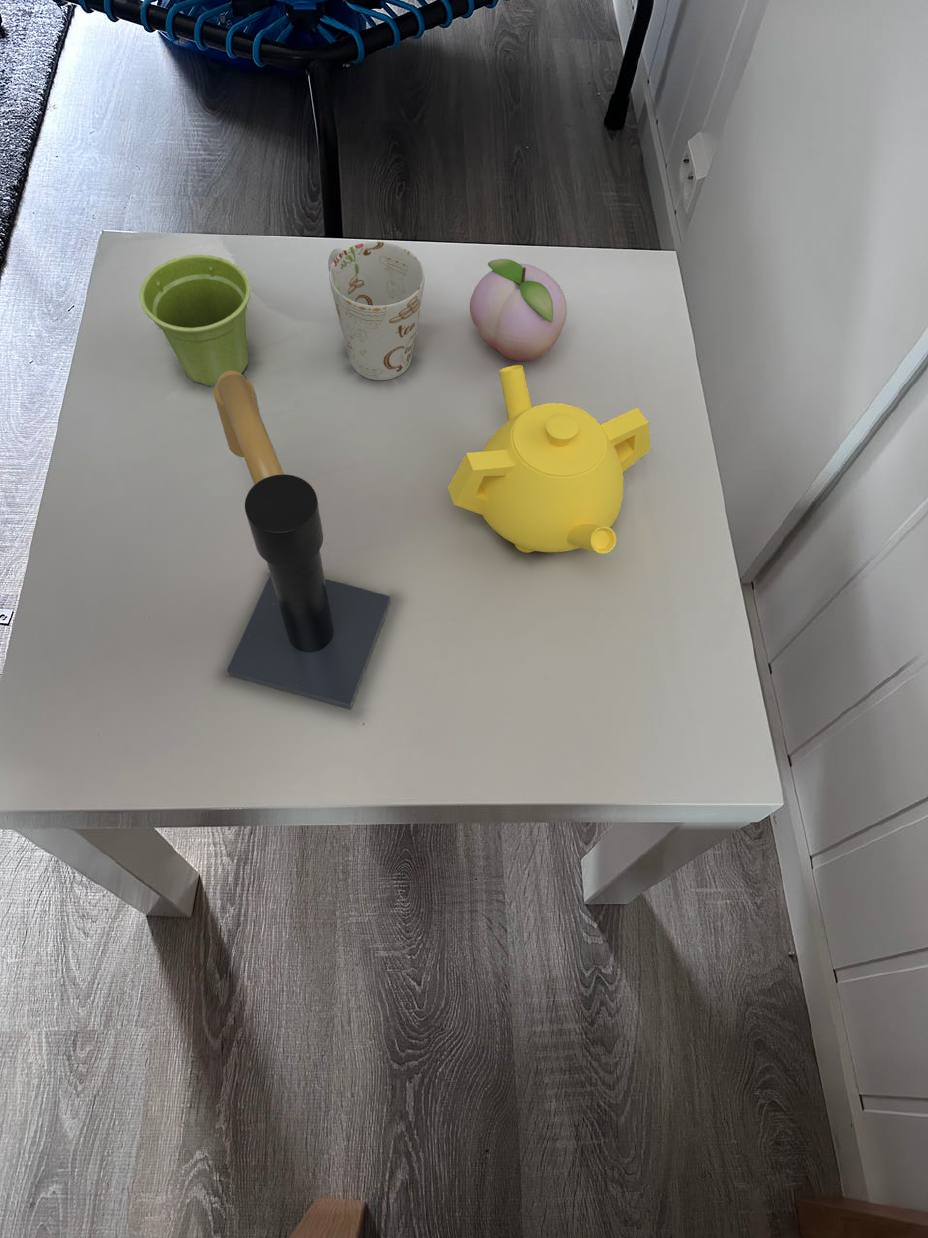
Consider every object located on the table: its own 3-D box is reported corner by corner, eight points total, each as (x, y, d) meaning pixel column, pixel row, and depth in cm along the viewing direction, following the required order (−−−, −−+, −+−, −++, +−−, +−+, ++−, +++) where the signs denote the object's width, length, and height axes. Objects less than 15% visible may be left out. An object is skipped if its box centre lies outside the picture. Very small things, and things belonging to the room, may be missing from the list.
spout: (213, 437, 64) (189, 360, 57) (270, 422, 65) (253, 343, 58) (275, 606, 57) (256, 541, 50) (337, 585, 58) (327, 519, 51)
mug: (371, 403, 80) (366, 320, 71) (296, 326, 84) (282, 238, 75) (440, 364, 82) (443, 280, 74) (364, 292, 87) (358, 204, 78)
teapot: (410, 450, 77) (410, 359, 67) (586, 403, 81) (610, 312, 71) (491, 633, 69) (504, 560, 59) (683, 571, 73) (725, 493, 63)
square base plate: (228, 675, 66) (186, 584, 53) (276, 571, 70) (247, 465, 58) (350, 710, 65) (336, 625, 53) (390, 602, 70) (386, 501, 57)
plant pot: (185, 414, 78) (161, 342, 70) (151, 347, 81) (124, 272, 74) (280, 381, 80) (266, 308, 73) (242, 317, 84) (226, 242, 76)
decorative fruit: (576, 355, 84) (596, 272, 75) (521, 398, 81) (535, 316, 72) (508, 306, 87) (519, 220, 78) (452, 345, 84) (457, 260, 75)
